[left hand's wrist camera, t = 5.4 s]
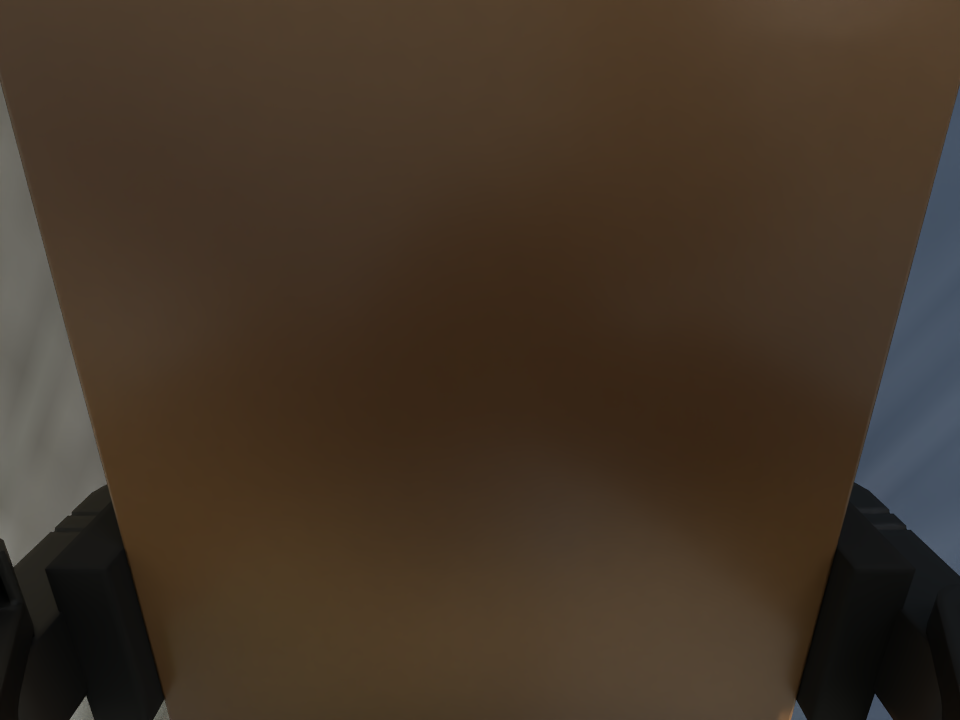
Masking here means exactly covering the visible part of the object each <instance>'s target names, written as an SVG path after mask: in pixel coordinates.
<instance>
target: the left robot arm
mask: <svg viewBox="0 0 960 720" xmlns="http://www.w3.org/2000/svg"><path fill="white" fill-rule="evenodd" d="M874 694H876V695H877V697H878V698H879V700H880V701H881V703H882V704H883V705H884V707H885V708H886V710H887V711H888V713H889V714H890V716H891V717H892V718H893V720H960V576H959V575H958V574H957V573H956V572H955V571H954V570H952V569H951V568H950V567H949V566H948V565H947V564H946V563H945V562H944V561H943V560H942V559H941V558H940V557H939V556H938V555H937V554H936V553H934V552H933V551H932V550H931V549H930V548H929V547H928V546H927V545H926V544H925V543H924V542H923V541H922V540H921V539H920V538H919V537H918V536H916V535H915V534H914V533H913V532H912V531H911V530H907V529H906V525H905V524H904V523H903V522H902V521H901V520H900V519H898V518H897V517H896V516H895V515H894V514H890V512H889V509H888V508H887V507H886V506H885V505H884V504H883V503H882V502H880V501H879V500H878V499H877V498H876V497H875V496H874V495H873V494H872V493H871V492H870V491H869V490H867V489H865V488H863V487H862V486H860V485H858V484H856V483H855V482H854V484H853V488H852V491H851V495H850V499H849V503H848V506H847V510H846V514H845V518H844V521H843V525H842V529H841V533H840V536H839V540H838V544H837V548H836V551H835V555H834V559H833V563H832V566H831V570H830V574H829V578H828V581H827V585H826V589H825V593H824V597H823V600H822V604H821V608H820V612H819V615H818V619H817V623H816V627H815V630H814V634H813V638H812V642H811V645H810V649H809V653H808V657H807V660H806V664H805V668H804V672H803V675H802V679H801V683H800V687H799V690H798V694H797V698H796V700H797V702H798V704H799V705H800V707H801V709H802V711H803V713H804V715H805V716H806V718H807V720H866V719H867V716H868V713H869V709H870V706H871V703H872V700H873V697H874ZM85 696H87V699H88V702H89V705H90V708H91V711H92V714H93V717H94V720H153V719H154V717H155V715H156V714H157V712H158V710H159V708H160V706H161V704H162V703H163V701H164V695H163V692H162V688H161V684H160V680H159V677H158V673H157V669H156V665H155V662H154V658H153V654H152V650H151V646H150V643H149V639H148V635H147V631H146V628H145V624H144V620H143V616H142V613H141V609H140V605H139V601H138V598H137V594H136V590H135V586H134V582H133V579H132V575H131V571H130V567H129V564H128V560H127V556H126V552H125V549H124V545H123V541H122V537H121V534H120V530H119V526H118V522H117V519H116V515H115V511H114V507H113V503H112V500H111V496H110V492H109V488H108V485H105V486H103V487H101V488H99V489H98V490H96V491H94V492H92V493H91V494H90V495H89V496H88V497H87V498H86V499H85V500H84V501H83V502H82V503H81V504H80V505H79V506H78V507H77V508H75V509H74V510H73V511H72V515H71V516H67V517H66V518H65V519H64V520H63V521H62V522H61V523H60V524H59V525H58V526H57V527H55V532H50V533H49V534H48V535H47V536H46V537H45V538H44V539H43V540H42V541H41V542H40V543H39V544H38V545H37V546H35V547H34V548H33V549H32V550H31V551H30V552H29V553H28V554H27V555H26V556H25V557H24V558H23V559H22V560H21V561H20V562H19V563H18V564H17V565H16V566H14V567H13V566H12V563H11V560H10V557H9V554H8V552H7V549H6V546H5V543H4V540H2V539H0V720H70V718H71V717H72V715H73V714H74V712H75V711H76V709H77V708H78V706H79V705H80V704H81V702H82V701H83V699H84V698H85Z"/></svg>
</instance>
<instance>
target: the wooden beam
mask: <svg viewBox="0 0 960 720" xmlns="http://www.w3.org/2000/svg"><path fill="white" fill-rule="evenodd" d="M0 82H1V86H2V89H3V93H4V97H5V101H6V105H7V108H8V112H9V116H10V120H11V123H12V127H13V131H14V135H15V138H16V142H17V146H18V150H19V153H20V157H21V161H22V165H23V169H24V172H25V176H26V180H27V184H28V187H29V191H30V195H31V199H32V202H33V206H34V210H35V214H36V217H37V221H38V225H39V229H40V232H41V236H42V240H43V244H44V248H45V251H46V255H47V259H48V263H49V266H50V270H51V274H52V278H53V281H54V285H55V289H56V293H57V296H58V300H59V304H60V308H61V312H62V315H63V319H64V323H65V327H66V330H67V334H68V338H69V342H70V345H71V349H72V353H73V357H74V360H75V364H76V368H77V372H78V376H79V379H80V383H81V387H82V391H83V394H84V398H85V402H86V406H87V409H88V413H89V417H90V421H91V424H92V428H93V432H94V436H95V439H96V443H97V447H98V451H99V455H100V458H101V462H102V466H103V470H104V473H105V477H106V481H107V485H108V488H109V492H110V496H111V500H112V503H113V507H114V511H115V515H116V519H117V522H118V526H119V530H120V534H121V537H122V541H123V545H124V549H125V552H126V556H127V560H128V564H129V567H130V571H131V575H132V579H133V582H134V586H135V590H136V594H137V598H138V601H139V605H140V609H141V613H142V616H143V620H144V624H145V628H146V631H147V635H148V639H149V643H150V646H151V650H152V654H153V658H154V662H155V665H156V669H157V673H158V677H159V680H160V684H161V688H162V692H163V695H164V699H165V703H166V707H167V710H168V714H169V718H170V720H791V717H792V713H793V709H794V705H795V702H796V698H797V694H798V690H799V687H800V683H801V679H802V675H803V672H804V668H805V664H806V660H807V657H808V653H809V649H810V645H811V642H812V638H813V634H814V630H815V627H816V623H817V619H818V615H819V612H820V608H821V604H822V600H823V597H824V593H825V589H826V585H827V581H828V578H829V574H830V570H831V566H832V563H833V559H834V555H835V551H836V548H837V544H838V540H839V536H840V533H841V529H842V525H843V521H844V518H845V514H846V510H847V506H848V503H849V499H850V495H851V491H852V488H853V484H854V480H855V476H856V472H857V469H858V465H859V461H860V457H861V454H862V450H863V446H864V442H865V439H866V435H867V431H868V427H869V424H870V420H871V416H872V412H873V409H874V405H875V401H876V397H877V394H878V390H879V386H880V382H881V379H882V375H883V371H884V367H885V363H886V360H887V356H888V352H889V348H890V345H891V341H892V337H893V333H894V330H895V326H896V322H897V318H898V315H899V311H900V307H901V303H902V300H903V296H904V292H905V288H906V285H907V281H908V277H909V273H910V270H911V266H912V262H913V258H914V254H915V251H916V247H917V243H918V239H919V236H920V232H921V228H922V224H923V221H924V217H925V213H926V209H927V206H928V202H929V198H930V194H931V191H932V187H933V183H934V179H935V176H936V172H937V168H938V164H939V161H940V157H941V153H942V149H943V145H944V142H945V138H946V134H947V130H948V127H949V123H950V119H951V115H952V112H953V108H954V104H955V100H956V97H957V93H958V89H959V85H960V0H0Z"/></svg>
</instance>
